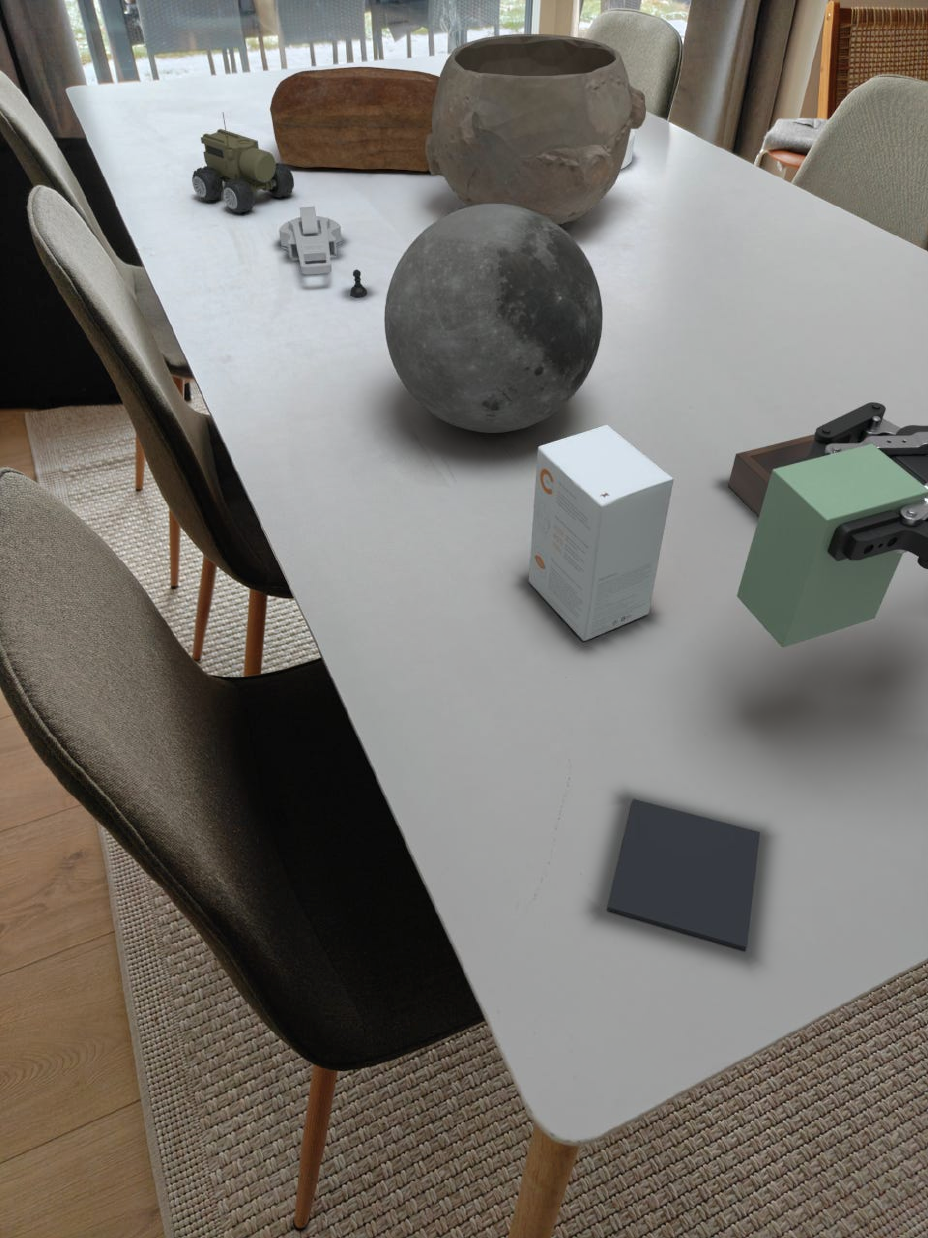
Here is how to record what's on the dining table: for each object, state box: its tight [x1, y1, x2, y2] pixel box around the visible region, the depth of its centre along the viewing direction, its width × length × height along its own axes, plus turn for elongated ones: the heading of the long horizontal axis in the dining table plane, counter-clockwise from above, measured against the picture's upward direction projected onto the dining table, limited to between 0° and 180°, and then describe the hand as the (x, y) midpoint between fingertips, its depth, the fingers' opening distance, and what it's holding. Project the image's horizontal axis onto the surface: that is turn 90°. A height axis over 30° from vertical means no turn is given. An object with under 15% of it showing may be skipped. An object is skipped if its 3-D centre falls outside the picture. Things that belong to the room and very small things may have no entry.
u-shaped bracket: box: [727, 433, 815, 517], centre depth 82 cm, size 9×7×4 cm
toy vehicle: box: [191, 113, 295, 215], centre depth 130 cm, size 10×11×12 cm
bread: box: [269, 66, 440, 172], centre depth 141 cm, size 14×28×12 cm, turn 86°
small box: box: [528, 424, 674, 642], centre depth 70 cm, size 8×6×13 cm
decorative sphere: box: [383, 204, 604, 434], centre depth 86 cm, size 20×20×20 cm
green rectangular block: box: [736, 444, 928, 648], centre depth 56 cm, size 7×5×10 cm
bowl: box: [426, 33, 647, 226], centre depth 122 cm, size 27×29×20 cm
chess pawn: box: [349, 269, 368, 298], centre depth 111 cm, size 2×2×3 cm
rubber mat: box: [607, 798, 760, 951], centre depth 57 cm, size 8×8×1 cm
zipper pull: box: [278, 206, 343, 275], centre depth 118 cm, size 8×18×4 cm, turn 10°
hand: (804, 513), depth 53 cm, fingers closed on green rectangular block, 5 cm apart
